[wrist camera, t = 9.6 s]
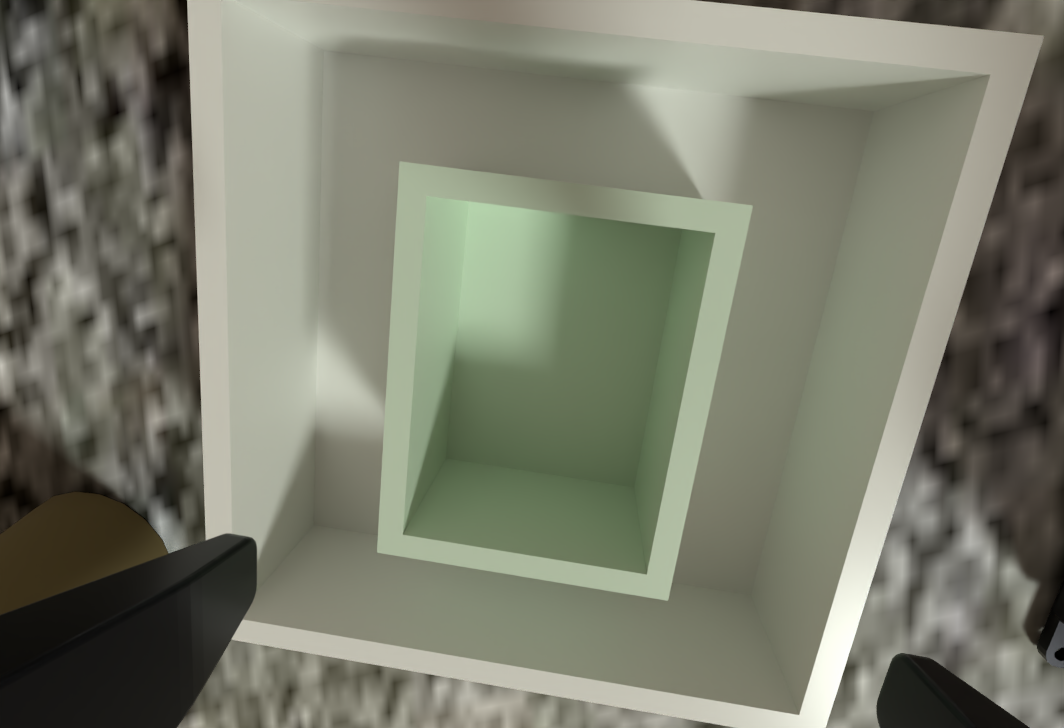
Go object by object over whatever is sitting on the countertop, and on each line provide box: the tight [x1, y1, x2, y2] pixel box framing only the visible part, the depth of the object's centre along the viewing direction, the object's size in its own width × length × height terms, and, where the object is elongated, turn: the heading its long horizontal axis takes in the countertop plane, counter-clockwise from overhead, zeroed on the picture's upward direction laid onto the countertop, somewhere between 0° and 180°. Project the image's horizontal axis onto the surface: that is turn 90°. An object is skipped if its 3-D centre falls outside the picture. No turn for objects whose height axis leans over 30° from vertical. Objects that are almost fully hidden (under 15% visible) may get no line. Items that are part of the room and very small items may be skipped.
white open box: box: [187, 0, 1044, 728], centre depth 16 cm, size 16×16×6 cm
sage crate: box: [377, 161, 753, 601], centre depth 15 cm, size 7×9×5 cm
